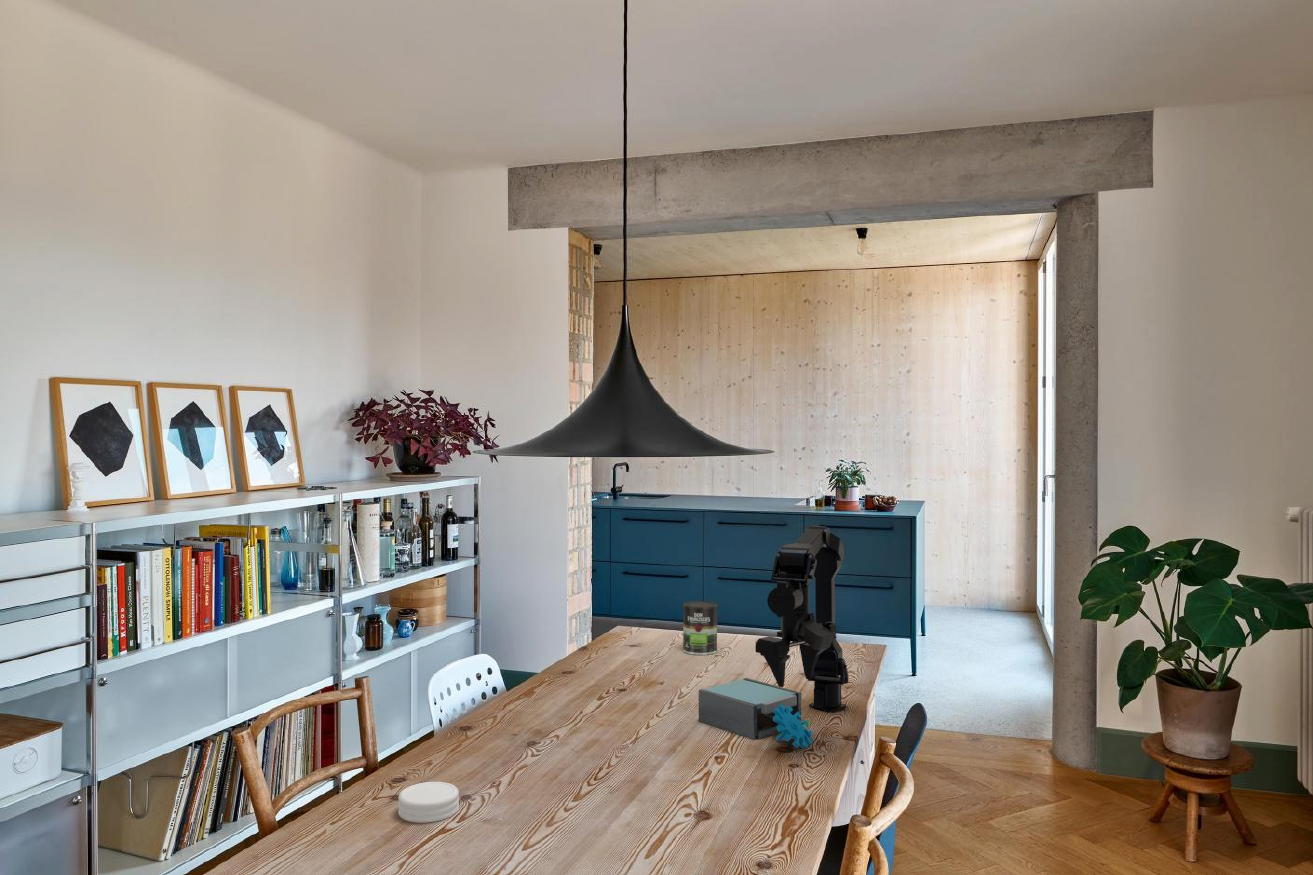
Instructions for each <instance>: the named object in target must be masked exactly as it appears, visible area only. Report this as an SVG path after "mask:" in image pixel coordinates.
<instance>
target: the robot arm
mask: <svg viewBox="0 0 1313 875" xmlns="http://www.w3.org/2000/svg"><path fill="white" fill-rule="evenodd" d="M844 557H845V548H844V544H843V542H842V539H841V538H840V537H839V536H837V535H836V534H834V533H832V531H831V530H830V528H829V527H826V526H824V525H823V526H822V525H821V526H820V525H809V526H806V527H805V529H804V532H803V533H802V535H801V536H800V537H799V538H798V539H797V540H796V541H795V542H794V543H790V544H785V545H782V546H781V547H780V548H779V550H778V551H777V552H776V553H775V558H774V561H773V562H774V564H773V568H772V573H771V578H770V580H771V582H776V587H774V588H773V589H771V591H770V592H769V593H768V596H767V600H766V601H767V606H768V609H769V610H770V611H771V612H772V614H774V615H776V617H777V618H780V619H781V620H780V622H781V623H780V629H781V630H778V631H776V637H774V636H766V637H765V636H764V637H761V638H760V637H759V638H758V639H756V641H755V649H754V650H755V653H758V654H760V656H762V657H763V658H764V659H765V661H766V663H767V664H768V666H769V668H770V670H771V673H772V675H773V677H774V679H775V681H776V684H777V686H779V687H783V688H784V686H785V680H786V679H785V678H786V663H787V661H789V660H790V658H791V655H790V654H789V652H790V648H793V647H796V646H799V647H798V648H799V651H800V657H801V662H802V669H803V673H804V677H805V680H807V681H808V682H813V686H814V688H813V702H811V703H808V707H811V708H814V709H817V710H821V711H825V712H829V713H833V712H834V711H835V712H836V711H838V710H839V711H840V710H841V709H844V708H847V704H845V703H842V686H844V685H845V684H849V670H848V666H847V664H846V660H845V658H843V657H844V656H843V648H842V647H841V645H840V643H839V641H838V640H837V638H838V637H837V625H836V624H837V623H836V585H835V584H836V581H835V580H836V576H837V574H838V572H839V571H840V569H841V568H842V565H843V564H842V563H843V561H844ZM811 580H814V583H815V584H814V586H815V588H814V590H815V593H814V594H815V597H814V598H815V600H814V602H815V605H814V606H815V615H814V612H810V582H811Z"/></svg>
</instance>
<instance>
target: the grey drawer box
mask: <svg viewBox="0 0 1313 875" xmlns="http://www.w3.org/2000/svg"><path fill="white" fill-rule="evenodd" d="M743 680H747V681H751V682H754V683H758V684H762V685H766V686H770V687H774V688H778V689H781V690H785V691H789V692H793V693H796V696H797V705H795V706H792V707H791V708H792V709H793V711H792V712H790V713H791V714H792V715H794V714H795V713H796V712H799V713H800V715H801V717H800V718H799V719H798V720H800V721H802V692H801V691H797V690H793V689H789V688H786V687H784V686H783V687H779V686H778V685H775V684H770V683H767V682H763V681H759V680H757V679H751V678H749V677H745V678H743ZM703 689H704V688H703ZM703 689H702V688H701V689H698V722H700V723H703V724H705V725H709V726H711V727H714V728H718V729H721V730H723V731H727V732H730V733H733V734H736V735H739V736H742V737H745V738H748V739H751V740H753V741H754V740H756V739H757V740H760V739H763V738H766V737H769V736H772V735H775V734H778V733H780V732H778V730H777V726H778V725H779V724H778V723H775V724H772V725H770V726H765V727H763V728H760V729H758V714H760V715H764V716H766V717H767V716H768V717H770V718H773V717H774V716H775V715H776V714H774V712H772V713H769V714H764V713H761V708H759V709H757V705H754V704H750V703H747V702H744V701H740V700H737V699H733V698H730V697H727V696H723V695H720V694H716V693H713V692H710V691H706V690H703ZM784 711H785V712H786V708H785V710H784ZM780 713H781V712H780Z"/></svg>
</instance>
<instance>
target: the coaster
mask: <svg viewBox="0 0 1313 875" xmlns="http://www.w3.org/2000/svg"><path fill="white" fill-rule="evenodd" d="M459 794H460V791H459V788H458V787H456V785H454V784H452V783H449V782H444V781H427V782H426V781H425V782H420V783H416V784H413V785H409V786H407V787H406V788H404V789H403V790H402V791H401V792H400V793H399V794H398V805H397V806H398V811H397V812H398V816H399V817H400V819H402V820H404V821H406V822H409V823H417V824H424V823H425V824H426V823H434V822H439V821H444V820H446V819H448V818H451V817H452V816H454V815H456V813H458V810H459V808H460V805H459V804H460V803H459V802H460V799H459V796H460V795H459Z"/></svg>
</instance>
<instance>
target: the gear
mask: <svg viewBox="0 0 1313 875" xmlns="http://www.w3.org/2000/svg"><path fill="white" fill-rule="evenodd" d="M784 710H785V706H784V705H779V706H778V708H776V709H775V710H774V711H773V712H774V714H776V715H775V716H774V717H772V721H773V722H774V723H775V724H779V725H778V726H777V730H778V732H779V733H780V734H778V735H777V736H776V738H775V741H776V742H778V743H779V742H781V741H782V740H785V741H786V742H787V743H788V742H789V741H791V739H793V740H794V741H793V742H792V745H793V747H795V748H796V749H798V748H799V747H800V748H801V749H804V750H805V749H807V748H809V746H810V744H812V743H813V740H812V738H811V737H812V736H813V732H812V731H811V730H810V729H808V727H809V724H810V723H811V722H810V719H808V718H806V719H805V720H801V721H800V720H798V719H799V718H800V717H801V718H802V714H801V715H800V713H799V712H796V713H795V714H794V715H792V714H791V713H790V712H792V711H793V709H792V708H791V707H790V706H787V707H786V712H785V711H784ZM780 712H781V713H780Z"/></svg>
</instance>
